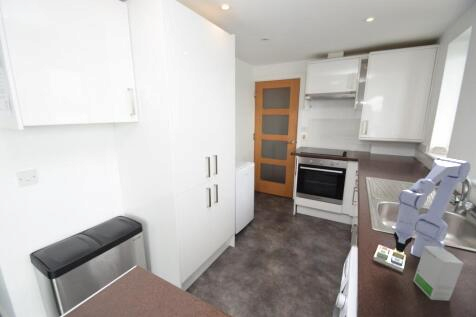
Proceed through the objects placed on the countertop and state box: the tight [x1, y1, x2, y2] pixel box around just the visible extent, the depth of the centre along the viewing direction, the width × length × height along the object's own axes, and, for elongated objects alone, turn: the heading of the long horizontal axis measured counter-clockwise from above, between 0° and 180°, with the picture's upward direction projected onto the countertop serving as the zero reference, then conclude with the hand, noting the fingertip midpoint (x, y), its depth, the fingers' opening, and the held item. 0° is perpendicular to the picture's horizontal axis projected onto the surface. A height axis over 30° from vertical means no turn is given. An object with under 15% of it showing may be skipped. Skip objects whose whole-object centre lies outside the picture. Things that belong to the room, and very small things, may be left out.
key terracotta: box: [380, 244, 391, 253], centre depth 93 cm, size 3×3×2 cm
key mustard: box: [393, 247, 405, 259], centre depth 90 cm, size 3×3×2 cm
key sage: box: [377, 248, 388, 260], centre depth 89 cm, size 3×3×2 cm
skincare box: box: [412, 246, 465, 302], centre depth 73 cm, size 8×7×16 cm
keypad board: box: [372, 244, 407, 274], centre depth 90 cm, size 10×11×2 cm
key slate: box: [392, 256, 402, 266], centre depth 86 cm, size 3×3×2 cm
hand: (399, 250), depth 85 cm, fingers closed
